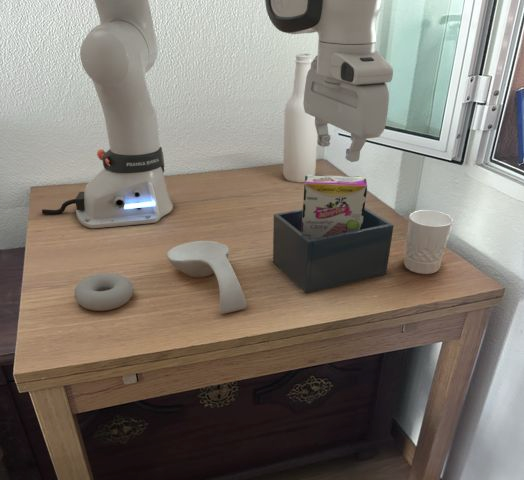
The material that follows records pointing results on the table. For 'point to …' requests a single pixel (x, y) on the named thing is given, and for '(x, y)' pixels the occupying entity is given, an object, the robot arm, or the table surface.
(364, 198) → the candy bar box
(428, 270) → the white cup
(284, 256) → the holder
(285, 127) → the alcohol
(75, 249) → the table surface
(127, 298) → the donut
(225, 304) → the spoon rest
